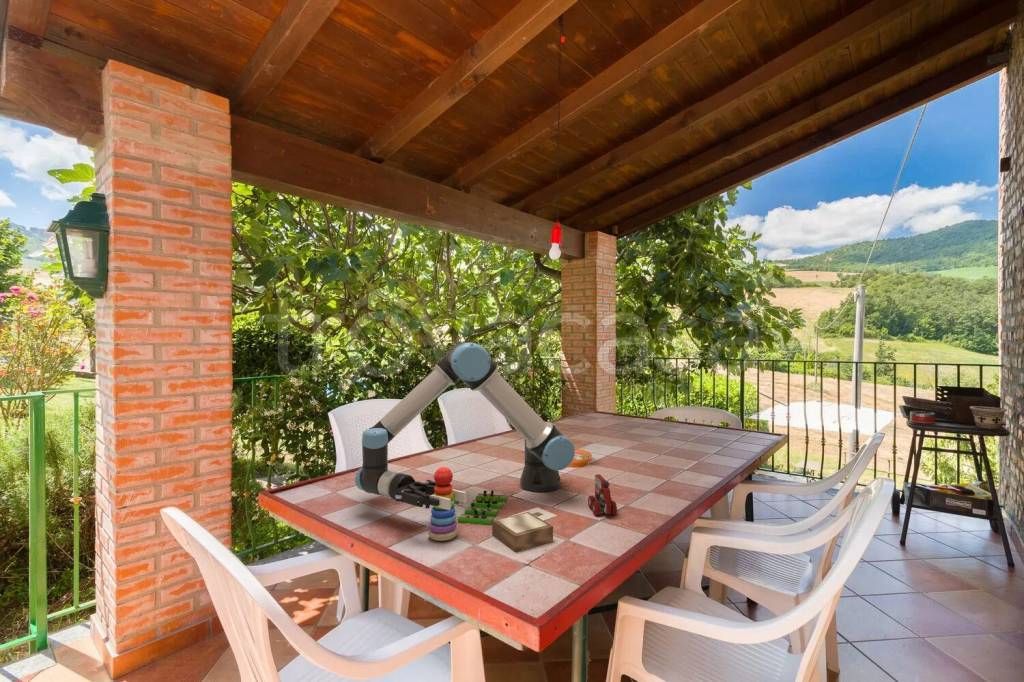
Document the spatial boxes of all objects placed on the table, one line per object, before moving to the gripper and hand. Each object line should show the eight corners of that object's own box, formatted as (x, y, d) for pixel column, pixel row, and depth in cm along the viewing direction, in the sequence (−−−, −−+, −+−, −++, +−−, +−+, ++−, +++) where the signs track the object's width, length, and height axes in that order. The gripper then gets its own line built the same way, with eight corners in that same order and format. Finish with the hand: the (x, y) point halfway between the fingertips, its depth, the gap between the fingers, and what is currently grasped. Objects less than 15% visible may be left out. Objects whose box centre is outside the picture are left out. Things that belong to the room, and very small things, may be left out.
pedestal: (528, 525, 135) (528, 511, 135) (553, 541, 125) (553, 525, 124) (492, 535, 128) (492, 519, 128) (515, 552, 118) (515, 535, 118)
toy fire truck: (597, 519, 139) (597, 485, 139) (586, 505, 152) (586, 473, 152) (619, 518, 140) (619, 484, 140) (607, 504, 152) (607, 472, 152)
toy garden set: (491, 527, 135) (491, 511, 135) (429, 522, 139) (429, 507, 139) (507, 500, 158) (507, 487, 158) (453, 496, 161) (453, 483, 161)
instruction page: (537, 507, 149) (537, 506, 149) (557, 516, 142) (557, 515, 142) (508, 517, 141) (508, 516, 141) (527, 526, 134) (527, 525, 134)
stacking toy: (452, 543, 123) (451, 473, 122) (423, 540, 124) (422, 471, 124) (461, 530, 130) (460, 464, 130) (434, 528, 132) (433, 463, 131)
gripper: (420, 489, 145) (479, 504, 132) (372, 508, 129) (433, 526, 117) (419, 466, 145) (478, 478, 132) (371, 481, 129) (433, 497, 116)
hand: (457, 500), depth 124 cm, fingers closed on stacking toy, 6 cm apart
